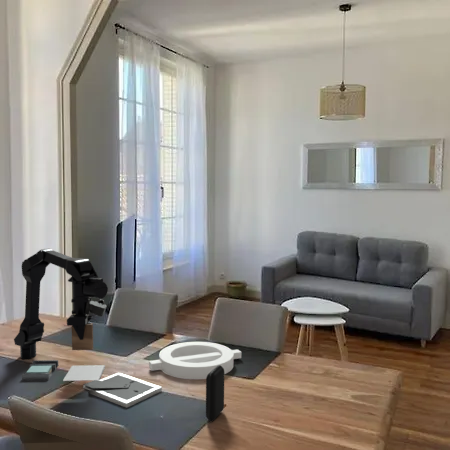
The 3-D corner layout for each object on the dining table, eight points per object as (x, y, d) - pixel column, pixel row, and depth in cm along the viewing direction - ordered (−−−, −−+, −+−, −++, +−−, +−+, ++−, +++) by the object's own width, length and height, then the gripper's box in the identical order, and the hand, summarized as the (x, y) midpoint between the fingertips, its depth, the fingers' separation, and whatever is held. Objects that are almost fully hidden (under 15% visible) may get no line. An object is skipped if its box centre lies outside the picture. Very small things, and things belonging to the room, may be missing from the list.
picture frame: (83, 392, 170) (126, 409, 158) (82, 384, 170) (126, 401, 158) (118, 377, 183) (161, 393, 171) (118, 370, 183) (161, 384, 170)
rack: (33, 367, 190) (33, 359, 189) (58, 367, 190) (58, 359, 190) (21, 383, 175) (21, 375, 175) (48, 383, 176) (48, 374, 176)
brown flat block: (73, 348, 183) (72, 323, 182) (93, 347, 183) (92, 323, 183) (72, 350, 181) (71, 325, 180) (92, 349, 181) (91, 324, 181)
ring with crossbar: (145, 372, 187) (145, 360, 187) (180, 349, 213) (180, 338, 213) (215, 385, 177) (216, 371, 176) (243, 359, 203) (244, 347, 202)
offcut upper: (31, 368, 184) (31, 365, 183) (51, 368, 184) (51, 365, 184) (26, 375, 178) (26, 372, 177) (47, 374, 178) (47, 371, 178)
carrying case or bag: (217, 407, 159) (218, 361, 158) (226, 409, 158) (227, 362, 157) (204, 422, 149) (204, 373, 148) (213, 424, 148) (214, 375, 147)
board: (72, 368, 190) (71, 365, 189) (105, 367, 190) (104, 365, 190) (62, 383, 176) (62, 380, 176) (98, 382, 177) (98, 380, 176)
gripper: (99, 300, 172) (100, 346, 173) (108, 289, 190) (109, 330, 192) (65, 301, 171) (67, 347, 172) (78, 289, 190) (79, 331, 191)
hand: (82, 338), depth 182 cm, fingers closed on brown flat block, 2 cm apart
